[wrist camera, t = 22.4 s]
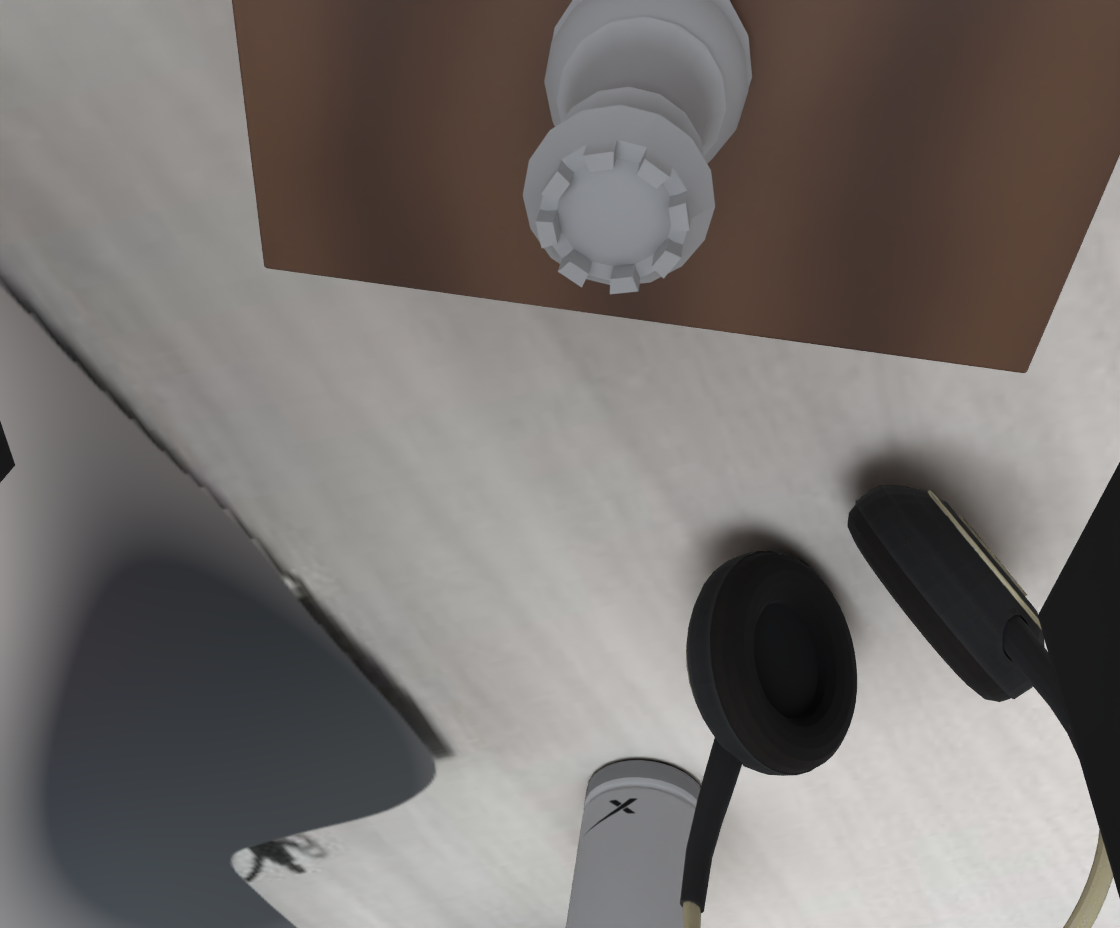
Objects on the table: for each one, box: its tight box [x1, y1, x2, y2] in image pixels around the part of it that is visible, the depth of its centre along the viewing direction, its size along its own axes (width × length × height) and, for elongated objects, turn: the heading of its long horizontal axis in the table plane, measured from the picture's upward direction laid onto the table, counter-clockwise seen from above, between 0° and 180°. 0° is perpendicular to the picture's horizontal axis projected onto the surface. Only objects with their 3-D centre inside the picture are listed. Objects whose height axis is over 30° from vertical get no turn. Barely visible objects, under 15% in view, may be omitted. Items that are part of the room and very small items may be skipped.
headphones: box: [680, 486, 1113, 928], centre depth 35 cm, size 9×15×20 cm, turn 132°
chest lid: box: [232, 0, 1120, 373], centre depth 23 cm, size 20×13×1 cm, turn 86°
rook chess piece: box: [523, 0, 752, 294], centre depth 20 cm, size 4×4×8 cm
